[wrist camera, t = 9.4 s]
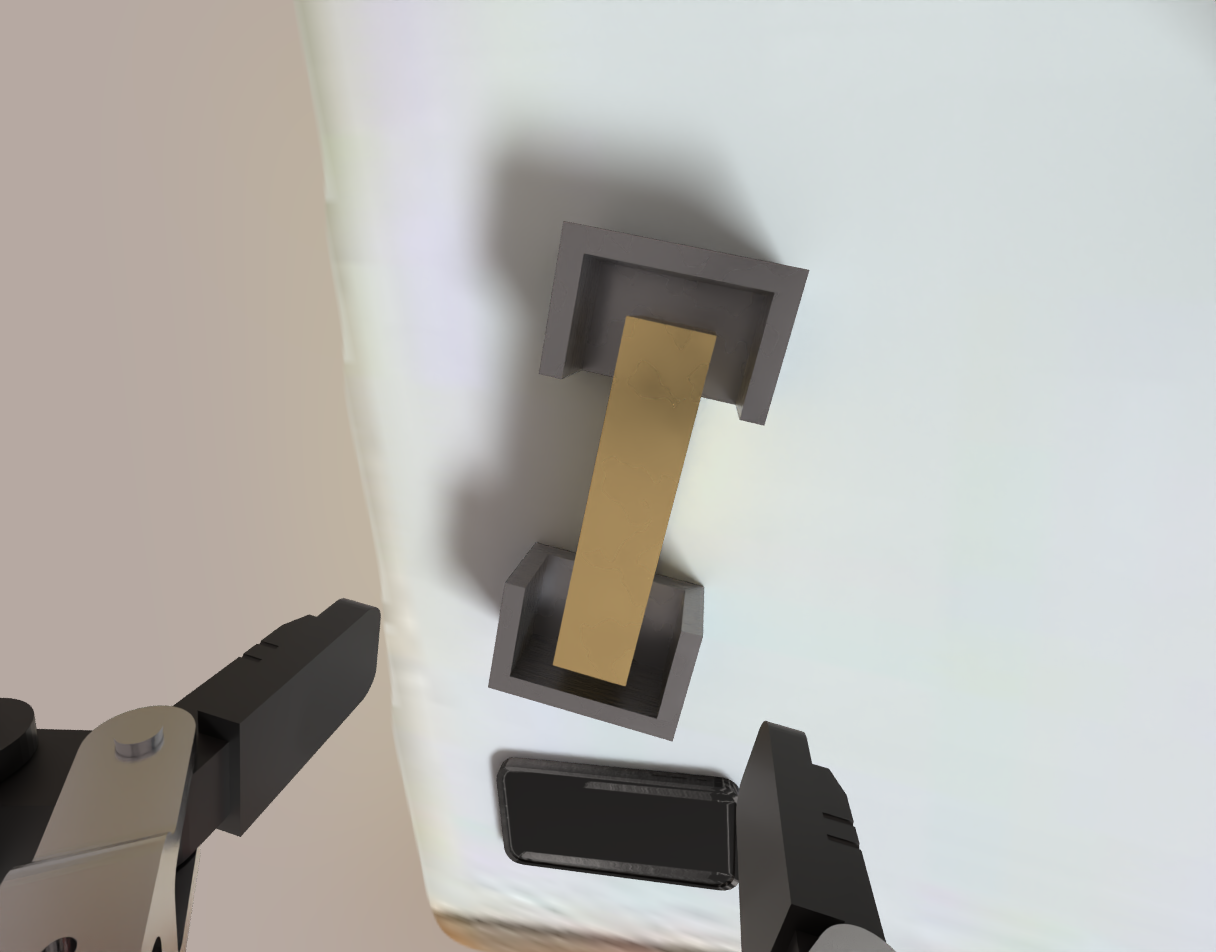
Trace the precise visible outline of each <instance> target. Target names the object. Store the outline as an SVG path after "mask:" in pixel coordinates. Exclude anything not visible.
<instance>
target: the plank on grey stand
mask: <svg viewBox="0 0 1216 952" xmlns="http://www.w3.org/2000/svg"><path fill="white" fill-rule="evenodd" d="M808 273H809V270H807V269H802V268H797V267H792V266H787V265H782V264H777V263H772V262H767V261H762V260H757V259H752V258H746V257H741V256H736V255H731V254H726V253H721V252H716V251H711V250H706V249H701V248H696V247H691V246H686V245H681V244H676V243H671V242H666V241H661V240H656V239H651V238H646V237H641V236H636V235H631V234H626V233H621V232H616V231H611V230H606V229H601V228H596V227H591V226H586V225H581V224H575V223H570V222H565V221H564V222H563V229H562V235H561V241H560V247H559V253H558V259H557V266H556V272H555V278H554V284H553V290H552V296H551V303H550V309H549V315H548V321H547V327H546V333H545V340H544V346H543V352H542V358H541V364H540V370H539V374H542V375H546V376H551V377H555V378H559V379H563V378H565V377H567V376H570V375H572V374H574V373H576V372H579V371H581V370H585V371H589V372H594V373H598V374H602V375H607V376H611V377H614V372H615V367H616V363H617V358H618V353H619V348H620V344H621V339H622V334H623V329H624V325H625V320H626V316H634V315H643V316H647V317H652V318H656V319H661V320H665V321H670V322H674V323H679V324H683V325H688V326H692V327H697V328H701V329H706V330H710V331H714V332H716V335H717V337H716V341H715V345H714V349H713V352H712V356H711V360H710V364H709V368H708V372H707V375H706V379H705V383H704V387H703V391H702V395H701V397H704V398H708V399H713V400H717V401H721V402H726V403H730V404H735V405H736V408H737V412H738V416H739V420H742V421H747V422H751V423H756V424H760V425H764V424H765V421H766V418H767V414H768V411H769V407H770V404H771V400H772V397H773V393H774V390H775V387H776V383H777V380H778V376H779V373H780V369H781V366H782V362H783V359H784V356H785V352H786V349H787V345H788V342H789V338H790V335H791V331H792V328H793V325H794V321H795V318H796V314H797V311H798V307H799V304H800V300H801V297H802V294H803V290H804V287H805V283H806V280H807V276H808ZM575 557H576V553H574V552H570V551H566V550H562V549H558V548H555V547H551V546H547V545H543V544H539V543H535V544H534V546H533V547H532V548H531V549H530V551H529V552H528V553H527V555H526V556H525V557H524V559H523V560H522V561H521V563H520V564H519V565H518V567H517V568H516V569H515V570H514V572H513V573H512V574H511V576H510V577H509V578H508V580H507V581H506V582H505V586H504V592H503V598H502V605H501V611H500V617H499V623H498V629H497V635H496V642H495V648H494V654H493V660H492V666H491V672H490V679H489V685H488V687H489V688H492V689H496V690H499V691H502V692H506V693H509V694H513V695H516V696H519V697H523V698H526V699H530V700H533V701H536V702H540V703H543V704H547V705H550V706H554V707H557V708H560V709H564V710H567V711H571V712H574V713H577V714H581V715H584V716H588V717H591V718H594V719H598V720H601V721H605V722H608V723H611V724H615V725H618V726H622V727H625V728H629V729H632V730H635V731H639V732H642V733H646V734H649V735H652V736H656V737H659V738H663V739H666V740H669V741H673V738H674V734H675V731H676V728H677V724H678V721H679V717H680V714H681V710H682V707H683V703H684V700H685V697H686V693H687V690H688V686H689V683H690V679H691V676H692V672H693V669H694V666H695V662H696V659H697V655H698V652H699V648H700V645H701V641H702V638H703V614H704V587H703V586H699V585H696V584H692V583H688V582H684V581H680V580H677V579H673V578H669V577H665V576H661V575H657V574H655V575H654V579H653V583H652V586H651V590H650V594H649V598H648V602H647V606H646V609H645V613H644V617H643V621H642V625H641V629H640V632H639V636H638V640H637V644H636V648H635V652H634V655H633V659H632V663H631V667H630V671H629V675H628V678H627V682H626V686H622V685H619V684H615V683H612V682H608V681H605V680H602V679H598V678H595V677H591V676H588V675H585V674H581V673H578V672H574V671H571V670H568V669H564V668H561V667H557V666H554V665H553V661H554V656H555V652H556V647H557V642H558V637H559V633H560V628H561V623H562V618H563V614H564V609H565V604H566V599H567V595H568V590H569V585H570V580H571V576H572V571H573V566H574V562H575Z"/></svg>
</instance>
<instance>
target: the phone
mask: <svg viewBox="0 0 1216 952" xmlns="http://www.w3.org/2000/svg"><path fill="white" fill-rule="evenodd" d="M497 788H498V797H499V806H500V814H501V823H502V832H503V841H504V849H505V852H506V854H507V856H508V857H509V858H510V859H511V860H513V861H514V862H516V863H519V864H523V865H530V866H538V867H546V868H553V869H561V870H569V871H576V872H584V873H591V874H599V875H607V876H614V877H622V878H630V879H637V880H645V881H653V882H660V883H668V884H675V885H683V886H691V887H698V888H706V889H714V890H730V889H732V888H734V887H736V885H737V884H738V883H739V875H738V850H737V826H736V808H737V799H738V793H739V788H738V786H737V785H736V784H735V783H734V782H732V781H730V780H729V779H725V778H721V777H711V776H700V775H690V774H680V773H670V772H660V771H649V770H639V769H629V768H619V767H609V766H598V765H588V764H578V763H568V762H558V761H547V760H537V759H527V758H509V759H507V760H505V761H504V762H503V764H502V766H501V768H500V770H499V772H498V774H497Z"/></svg>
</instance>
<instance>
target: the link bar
mask: <svg viewBox="0 0 1216 952" xmlns="http://www.w3.org/2000/svg"><path fill="white" fill-rule="evenodd" d="M716 337H717V335H716V332H714V331H710V330H706V329H701V328H697V327H692V326H688V325H683V324H679V323H674V322H670V321H665V320H661V319H656V318H652V317H647V316H643V315H634V316H626V320H625V325H624V329H623V334H622V339H621V344H620V348H619V353H618V358H617V363H616V367H615V372H614V377H613V381H612V386H611V391H610V396H609V400H608V405H607V410H606V415H605V419H604V424H603V429H602V434H601V438H600V443H599V448H598V453H597V457H596V462H595V467H594V472H593V476H592V481H591V486H590V490H589V495H588V500H587V505H586V509H585V514H584V519H583V524H582V528H581V533H580V538H579V543H578V547H577V552H576V557H575V562H574V566H573V571H572V576H571V580H570V585H569V590H568V595H567V599H566V604H565V609H564V614H563V618H562V623H561V628H560V633H559V637H558V642H557V647H556V652H555V656H554V661H553V665H554V666H557V667H561V668H564V669H568V670H571V671H574V672H578V673H581V674H585V675H588V676H591V677H595V678H598V679H602V680H605V681H608V682H612V683H615V684H619V685H622V686H626V682H627V678H628V675H629V671H630V667H631V663H632V659H633V655H634V652H635V648H636V644H637V640H638V636H639V632H640V629H641V625H642V621H643V617H644V613H645V609H646V606H647V602H648V598H649V594H650V590H651V586H652V583H653V579H654V575H655V571H656V567H657V563H658V560H659V556H660V552H661V548H662V544H663V540H664V537H665V533H666V529H667V525H668V521H669V517H670V514H671V510H672V506H673V502H674V498H675V494H676V491H677V487H678V483H679V479H680V475H681V471H682V468H683V464H684V460H685V456H686V452H687V448H688V444H689V441H690V437H691V433H692V429H693V425H694V421H695V418H696V414H697V410H698V406H699V402H700V398H701V395H702V391H703V387H704V383H705V379H706V375H707V372H708V368H709V364H710V360H711V356H712V352H713V349H714V345H715V341H716Z"/></svg>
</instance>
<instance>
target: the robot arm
mask: <svg viewBox="0 0 1216 952" xmlns="http://www.w3.org/2000/svg"><path fill="white" fill-rule="evenodd" d="M380 618H381V615H380V610H379V609H378V608H376V607H373V606H370V605H366V604H363V603H359V602H356V601H352V600H349V599H345V598H343V599H339V600H338V601H336V602H335V603H334V604H332V605H331V606H330V607H329V608H327V609H326V610H325V611H323V612H322V613H321V614H320V615H319V616H317V617H315V616H312V615H307V616H304V617H302V618H299V619H297V620H294V621H292V622H289V623H287V624H284V625H282V626H280V627H279V628H278V629H276V630H275V631H273V632H272V633H271V634H270V635H268V636H267V637H266V638H264V639H263V640H261V643H260V644H256V645H255V646H253V647H252V648H251V649H249V650H248V651H247V652H245V653H244V654H243V657H242V658H241V657H238V658H237V659H236V660H234V661H233V662H232V663H230V664H229V665H228V666H226V667H225V668H224V669H222V670H221V671H219V672H218V673H217V674H215V675H214V676H213V677H211V678H210V679H209V680H207V681H206V682H205V683H203V684H202V685H200V686H199V687H198V688H196V689H195V690H194V691H192V692H191V693H190V694H188V695H187V696H186V697H184V698H183V699H182V700H180V701H179V702H178V703H176V704H175V705H174V706H149V707H144V708H138V709H135V710H131V711H128V712H125V713H123V714H120V715H117V716H115V717H114V718H111V719H109V720H108V721H106V722H104V723H103V724H101V725H99V726H98V727H97V728H95V729H94V730H93V731H90V730H89V731H88V730H54V729H36V723H35V717H34V711H33V709H32V707H31V706H30V705H29V704H27V703H26V702H23V701H21V700H17V699H11V698H0V952H186V947H187V940H188V933H189V927H190V920H191V914H192V907H193V900H194V893H195V887H196V880H197V873H198V867H199V861H200V845H201V844H202V843H203V842H204V841H205V839H207V837H208V836H209V835H210V834H211V833H212V832H213V831H214V830H215V829H219V830H222V831H226V832H228V833H231V834H234V835H237V836H240V837H241V836H242V835H243V833H244V832H245V831H246V830H247V829H248V828H249V827H250V826H251V825H252V823H253V822H254V821H255V820H256V819H257V818H258V817H259V816H260V814H261V813H262V812H263V811H264V810H265V809H266V808H267V807H268V806H269V804H270V803H271V802H272V801H273V800H274V799H275V798H276V797H277V795H278V794H279V793H280V792H281V791H282V790H283V789H284V788H285V786H286V785H287V784H288V783H289V782H290V781H291V780H292V779H293V777H294V776H295V775H296V774H297V773H298V772H299V771H300V769H302V767H303V766H304V765H305V764H306V763H307V762H308V761H309V760H310V758H311V757H312V756H313V755H314V754H315V753H316V752H317V751H318V749H319V748H320V747H321V746H322V745H323V744H324V742H326V740H327V739H328V738H329V737H330V736H331V735H332V734H333V733H334V731H335V730H336V729H337V728H338V727H339V726H340V725H341V724H342V723H343V721H344V720H345V719H346V718H347V717H348V716H349V714H351V712H352V711H353V710H354V709H355V708H356V707H357V706H358V705H359V703H360V702H361V701H362V700H363V699H364V697H365V696H366V694H367V693H368V691H369V689H370V687H371V684H372V682H373V680H374V677H375V673H376V665H377V654H378V642H379V631H380ZM853 822H854V821H853V818H852V814H851V810H850V806H849V803H848V799H847V795H846V794H845V792H844V791H843V789H842V788H841V786H840V785H839V783H838V782H837V780H836V779H835V777H834V776H833V774H832V773H831V771H830V770H829V769H828V768H824V767H821V766H818V765H814V764H812V761H811V756H810V752H809V747H808V742H807V738H806V735H805V733H804V732H802V731H799V730H795V729H792V728H788V727H785V726H781V725H778V724H774V723H771V722H768V721H764V722H763V723H762V725H761V727H760V729H759V732H758V735H757V738H756V741H755V744H754V746H753V749H752V752H751V755H750V758H749V760H748V763H747V766H746V769H745V772H744V775H743V777H742V780H741V784H740V788H739V793H738V799H737V808H736V826H737V850H738V875H739V899H740V924H741V948H742V952H896V951H895V950H894V949H893V948H892V947H891V946H889V945H888V944H887V943H886V940H885V937H884V933H883V930H882V926H881V922H880V918H879V915H878V911H877V907H876V904H875V900H874V896H873V892H872V889H871V885H870V881H869V877H868V874H867V870H866V866H865V862H864V859H863V855H862V851H861V850H860V849H859V840H858V836H857V833H856V829H855V827H853Z"/></svg>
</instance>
